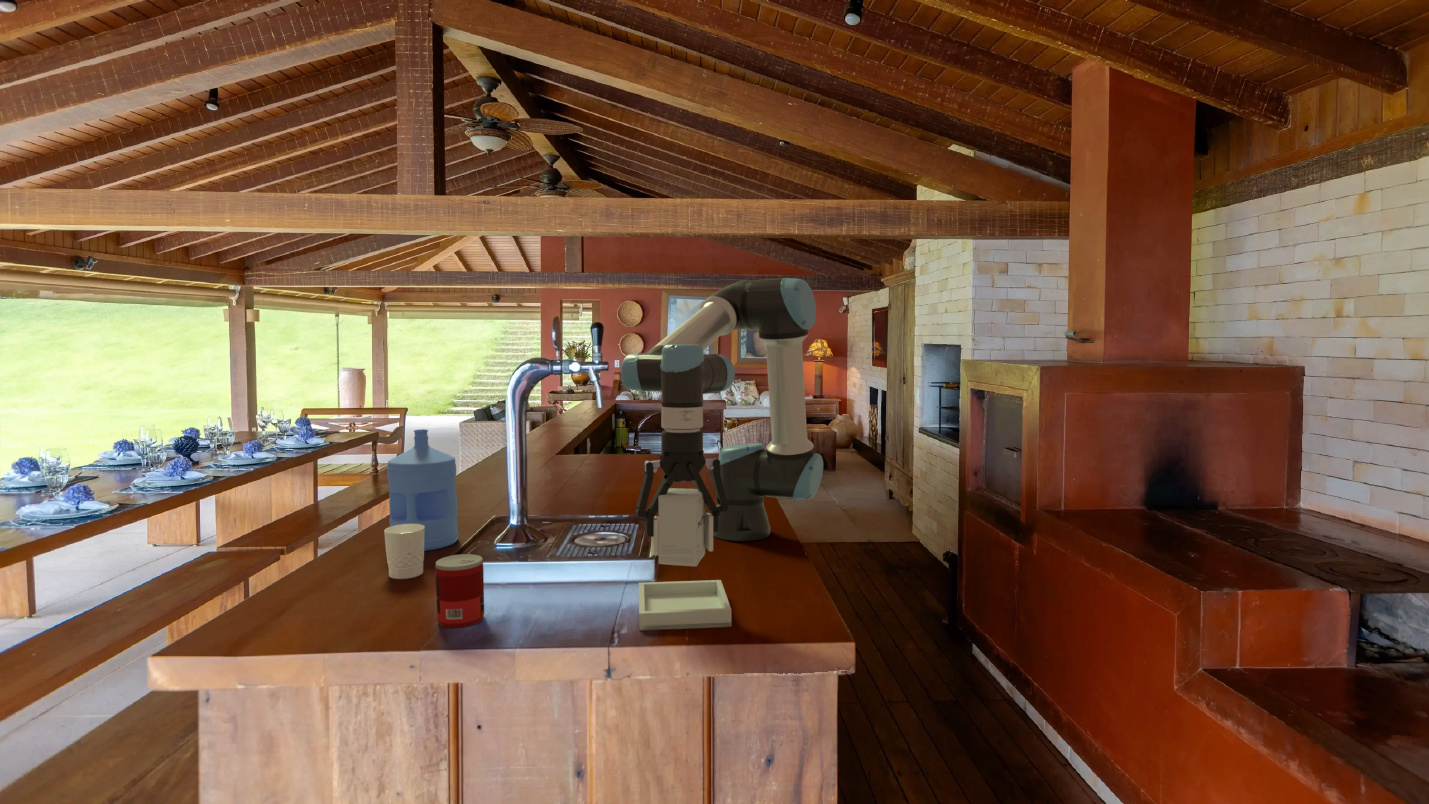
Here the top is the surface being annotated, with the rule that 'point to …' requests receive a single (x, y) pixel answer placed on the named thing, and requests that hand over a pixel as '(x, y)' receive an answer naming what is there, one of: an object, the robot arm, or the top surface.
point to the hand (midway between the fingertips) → (682, 551)
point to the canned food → (460, 590)
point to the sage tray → (683, 605)
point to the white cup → (405, 550)
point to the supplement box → (681, 527)
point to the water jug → (424, 492)
